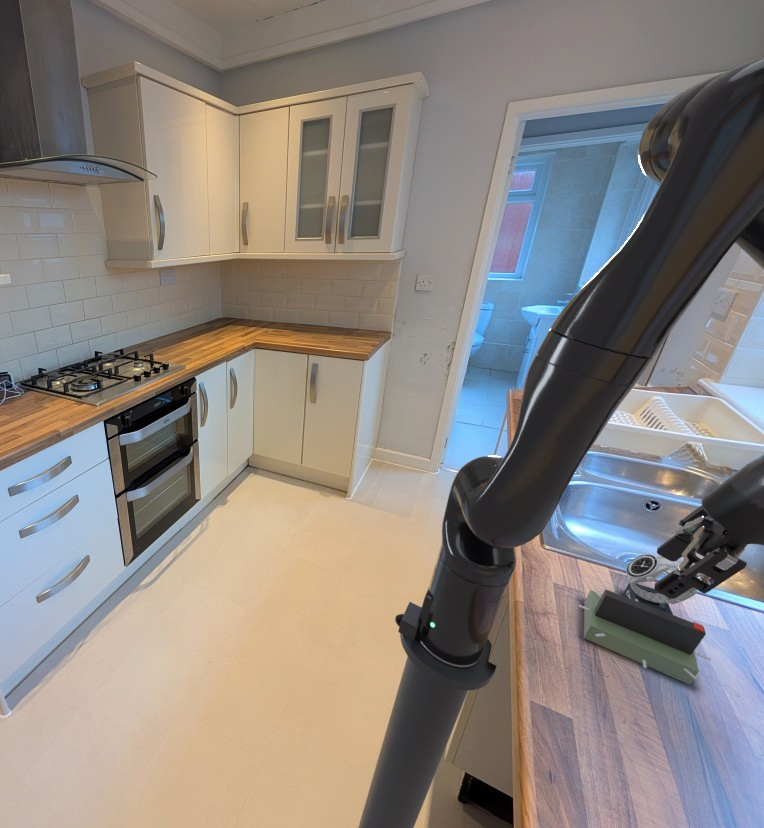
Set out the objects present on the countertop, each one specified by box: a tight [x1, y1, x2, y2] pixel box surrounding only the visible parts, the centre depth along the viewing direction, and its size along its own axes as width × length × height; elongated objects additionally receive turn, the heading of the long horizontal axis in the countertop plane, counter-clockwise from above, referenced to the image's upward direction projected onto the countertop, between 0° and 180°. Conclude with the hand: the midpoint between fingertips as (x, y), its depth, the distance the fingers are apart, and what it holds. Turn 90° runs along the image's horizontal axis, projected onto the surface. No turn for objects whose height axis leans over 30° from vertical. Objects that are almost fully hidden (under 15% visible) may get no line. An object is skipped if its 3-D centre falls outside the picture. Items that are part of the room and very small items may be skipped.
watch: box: [622, 554, 698, 615], centre depth 71 cm, size 6×8×11 cm
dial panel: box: [577, 589, 712, 685], centre depth 66 cm, size 15×15×3 cm
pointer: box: [595, 589, 707, 655], centre depth 65 cm, size 11×2×5 cm, turn 51°
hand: (663, 573), depth 59 cm, fingers open, 8 cm apart
